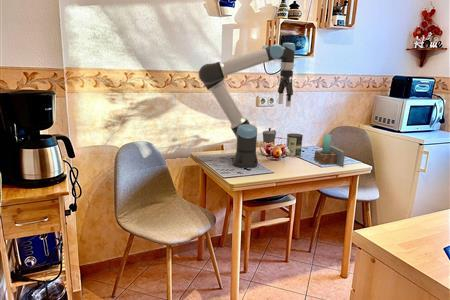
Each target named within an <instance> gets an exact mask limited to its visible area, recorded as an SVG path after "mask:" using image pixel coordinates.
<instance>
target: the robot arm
mask: <svg viewBox="0 0 450 300" xmlns="http://www.w3.org/2000/svg"><path fill="white" fill-rule="evenodd" d="M295 54H296V45H295V43H293V42H283V43H282V45H280V44H278V43H274V44H273V45H263V46H262V48H261V49H257V50H255V51H252V52H249V53H246V54H244V55H241V56H238V57H234V58H232V59H228V60H227V61H223V62H221V61H217V62H214V63H205V64H203V65H202V66H201V67H200V69H199V70H198V78H199V80H200V82H201V83H203V85H204V86H205V88H206V90H207V91H209V92H211V93H212V95H213V96H214V98H215V100H216V101H217V103H218V104H219V106H220V108H221V109H222V111H223V113H224V114H225V116H226V118H227V120H228V122H229V123H230V129H231V131H232V132H233V134H234V136H235V138H236V149H235V150H236V152H235V154H234V157H233V159H232V165H233V164H234V165H233V166H235V167H237V166H238V168H242V167H246V168H245V169H248V168H247V167H253V168H256V167H255V166H257V165H258V166H259V160H258V155H257V139H258V128H257V126H256V125H253V124H251V123H250V121H249V119H248V118H247V117H244V116H243V115H242V112H241V111H240V109H239V108H238V106H237V105H236V103H235V101H234V99H233V98H232V96H231V94H230V93H229V91H228V89H227V88H226V86H225V84H224V83H225V82H224V81H225V80H224V79H226V77H227V76H230V75H232V74H235V73H238V72H241V71H245V70H247V69H250V68H253V67H255V66H258V65H261V64H265V63H267V62H271V61H274V60H281V61H280V62H281V63H280V72H279V73H280V74H279V77H280V81H279V85H278V89H277V92H278V100H277V101H278V102H277V103H278V105H283V104H284V94H285V91H286V94H285V96H286V97H285V107H286V108H287V107H289V108H291V102H292V96H293V95H294V89H293V74H294V66H295V63H294V62H295ZM258 166H257V167H258Z"/></svg>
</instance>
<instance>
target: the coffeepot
mask: <svg viewBox="0 0 450 300" xmlns="http://www.w3.org/2000/svg"><path fill="white" fill-rule="evenodd" d="M276 135H277V131H276V130H275V129H273V130H272V128H271V127H269V128H268V130H264V131H262V139H263V143H264V142H266V143H270V142H274V143H275V140H276Z"/></svg>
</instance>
